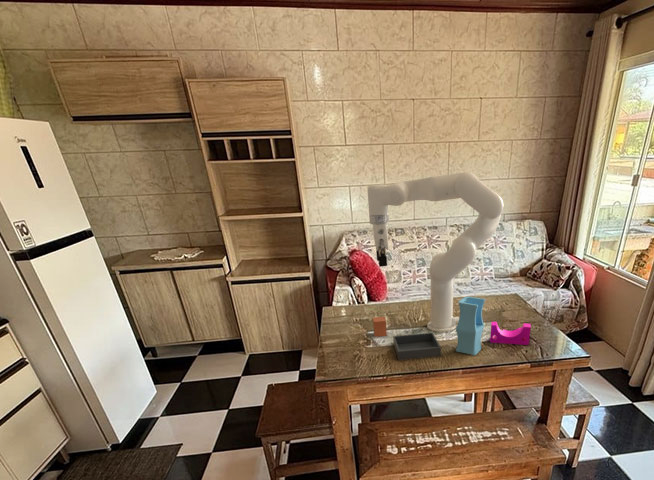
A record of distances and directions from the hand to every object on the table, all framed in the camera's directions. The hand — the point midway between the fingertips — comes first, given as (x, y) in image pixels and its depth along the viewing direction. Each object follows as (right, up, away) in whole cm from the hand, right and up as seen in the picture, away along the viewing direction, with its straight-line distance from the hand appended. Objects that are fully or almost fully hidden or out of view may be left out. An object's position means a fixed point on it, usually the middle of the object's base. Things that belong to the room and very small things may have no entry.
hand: (381, 263), depth 168 cm
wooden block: (-1, -29, +7) cm, 30 cm away
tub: (+14, -37, -8) cm, 40 cm away
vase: (+34, -37, -10) cm, 51 cm away
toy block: (+52, -32, -3) cm, 61 cm away
